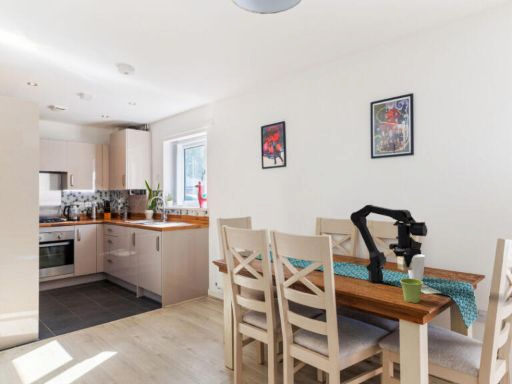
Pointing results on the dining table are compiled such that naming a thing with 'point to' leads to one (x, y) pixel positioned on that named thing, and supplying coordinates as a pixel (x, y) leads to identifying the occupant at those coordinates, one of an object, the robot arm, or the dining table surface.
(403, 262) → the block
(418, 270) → the foam cup
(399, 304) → the dining table surface
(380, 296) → the dining table surface
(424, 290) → the pad
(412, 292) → the plant pot
